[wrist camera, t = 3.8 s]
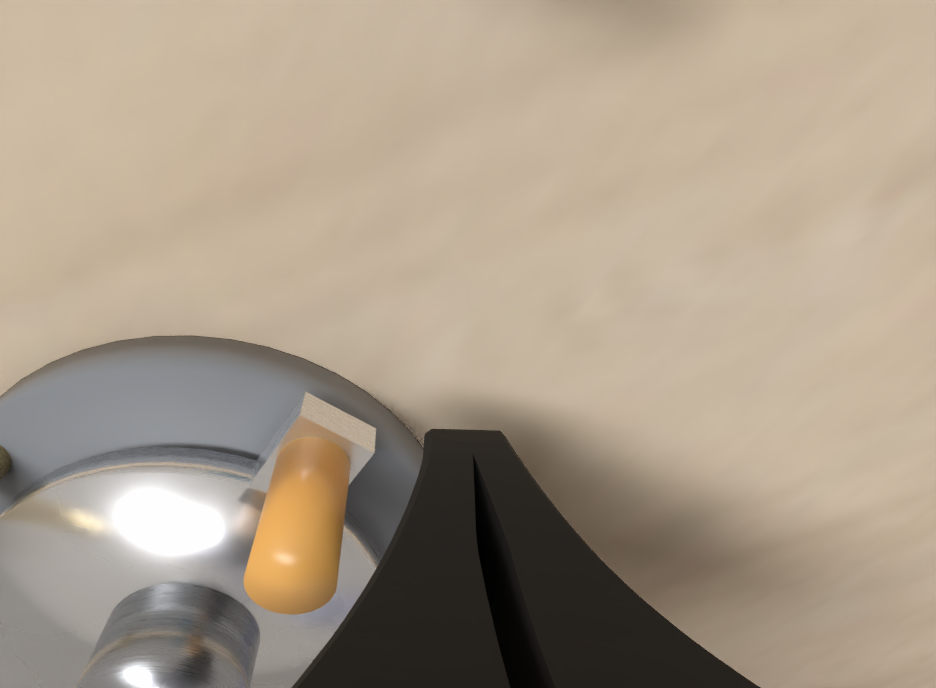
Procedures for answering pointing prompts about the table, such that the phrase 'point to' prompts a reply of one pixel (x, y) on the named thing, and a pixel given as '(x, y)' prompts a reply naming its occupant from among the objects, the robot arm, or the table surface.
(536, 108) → the table surface
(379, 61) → the table surface
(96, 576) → the flange
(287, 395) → the post base
